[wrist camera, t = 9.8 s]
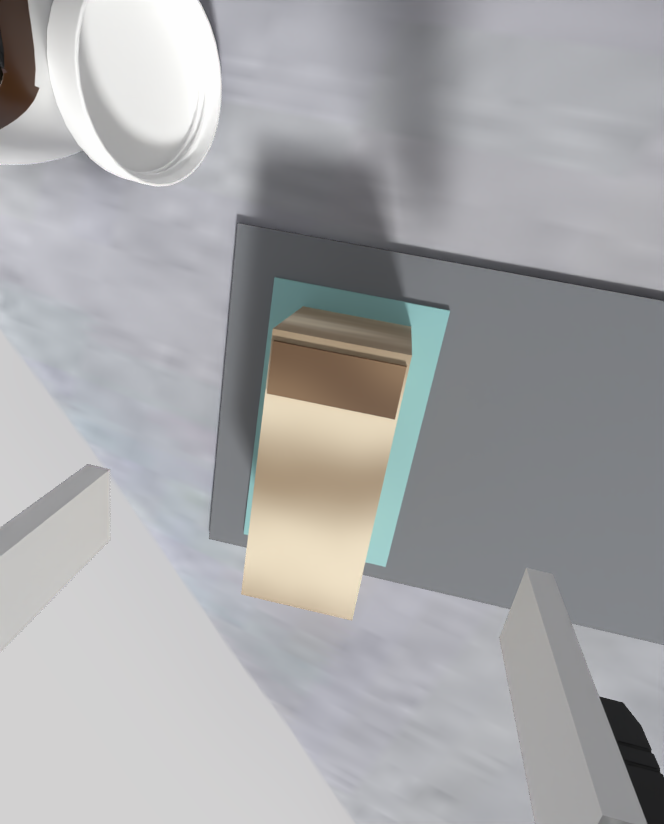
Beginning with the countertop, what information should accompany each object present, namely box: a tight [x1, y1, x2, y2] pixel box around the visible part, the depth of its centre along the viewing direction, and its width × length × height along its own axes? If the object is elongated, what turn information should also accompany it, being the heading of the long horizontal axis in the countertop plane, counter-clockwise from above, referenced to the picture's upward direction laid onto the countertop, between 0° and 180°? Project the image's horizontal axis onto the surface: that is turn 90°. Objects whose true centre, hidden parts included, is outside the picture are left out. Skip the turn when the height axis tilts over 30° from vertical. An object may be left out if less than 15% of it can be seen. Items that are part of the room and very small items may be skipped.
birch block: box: [241, 306, 412, 620], centre depth 22 cm, size 12×5×6 cm, turn 171°
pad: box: [244, 277, 450, 567], centre depth 25 cm, size 14×8×1 cm, turn 170°
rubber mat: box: [209, 223, 664, 645], centre depth 24 cm, size 17×27×1 cm, turn 81°
